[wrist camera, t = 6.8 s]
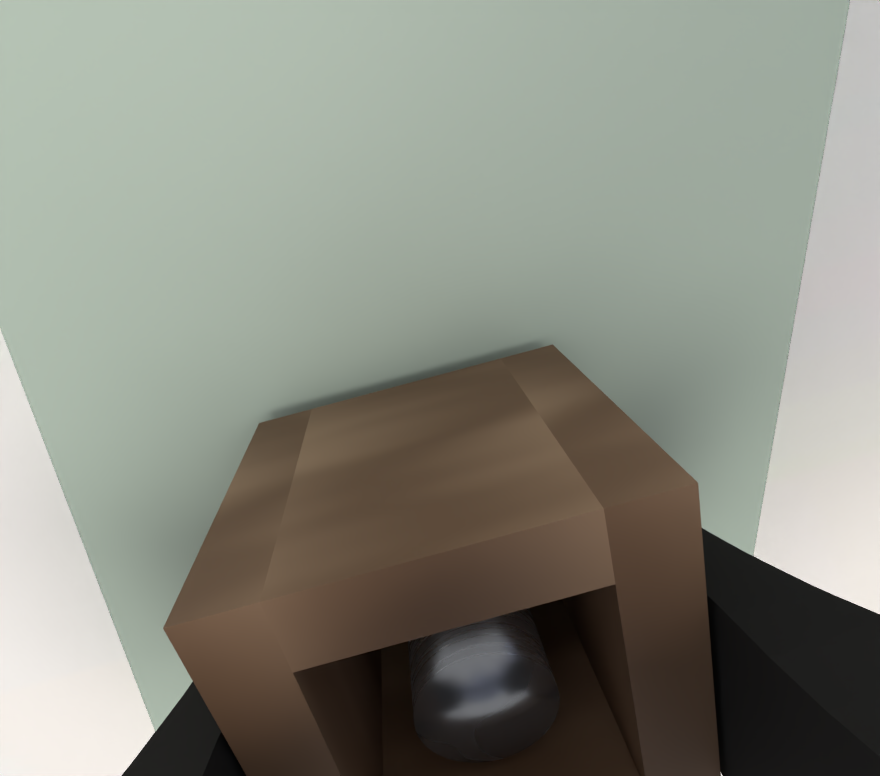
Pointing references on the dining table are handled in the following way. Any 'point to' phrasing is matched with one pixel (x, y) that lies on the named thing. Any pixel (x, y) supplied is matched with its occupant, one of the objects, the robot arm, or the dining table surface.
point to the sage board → (391, 234)
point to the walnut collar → (454, 577)
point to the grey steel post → (482, 688)
